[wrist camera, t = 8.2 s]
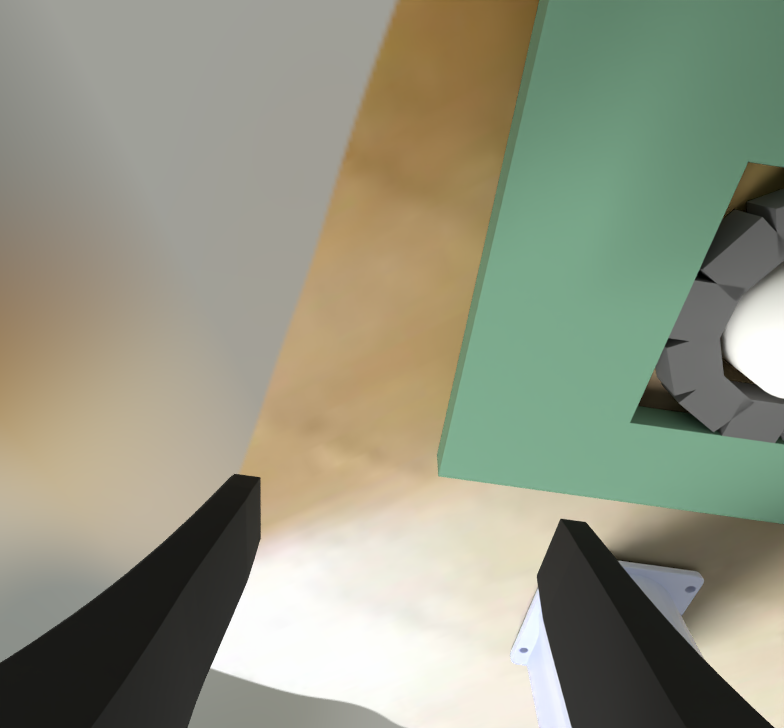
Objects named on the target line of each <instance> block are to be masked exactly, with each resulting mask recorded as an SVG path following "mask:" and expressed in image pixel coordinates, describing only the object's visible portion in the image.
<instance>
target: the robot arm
mask: <svg viewBox="0 0 784 728" xmlns="http://www.w3.org/2000/svg"><path fill="white" fill-rule="evenodd" d="M260 539H261V508H260V477H254V476H246V475H239V474H234V475H233V476H231V477H230V478H229V479H228V480H227V481H226V482H225V483H224V484H223V485H222V486H221V487H220V488H219V489H218V490H217V491H216V493H214V494H213V495H212V496H211V497H210V498H209V499H208V500H207V501H206V502H205V503H204V504H203V505H202V506H201V507H200V508H199V509H198V510H197V511H196V512H195V513H194V514H193V515H192V516H191V517H190V518H189V519H188V520H187V521H186V522H185V523H184V524H182V525H181V526H180V527H179V528H178V529H177V530H176V531H175V532H174V533H173V534H172V535H171V536H169V537H168V538H167V539H166V540H165V541H164V542H163V543H162V544H161V545H160V546H158V547H157V548H156V549H155V550H154V551H152V552H151V553H150V554H149V555H148V556H147V557H145V558H144V559H143V560H142V561H141V562H139V563H138V564H137V565H136V566H135V567H134V568H132V569H131V570H130V571H129V572H128V573H127V574H125V575H124V576H123V577H121V578H120V579H119V580H118V581H116V582H115V583H114V584H113V585H111V586H110V587H109V588H108V589H106V590H105V591H104V592H102V593H101V594H100V595H98V596H97V597H96V598H94V599H93V600H92V601H90V602H89V603H88V604H86V605H85V606H84V607H82V608H81V609H79V610H78V611H77V612H75V613H74V614H73V615H71V616H70V617H68V618H67V619H66V620H64V621H63V622H61V623H60V624H58V625H57V626H55V627H54V628H52V629H51V630H49V631H48V632H47V633H45V634H44V635H42V636H41V637H39V638H38V639H37V640H35V641H33V642H32V643H30V644H29V645H27V646H26V647H24V648H23V649H21V650H20V651H18V652H16V653H15V654H13V655H12V656H10V657H9V658H7V659H5V660H4V661H2V662H1V663H0V728H187V727H188V724H189V721H190V719H191V716H192V712H193V709H194V707H195V704H196V701H197V699H198V696H199V694H200V691H201V688H202V686H203V683H204V681H205V678H206V676H207V674H208V672H209V669H210V667H211V665H212V662H213V660H214V658H215V655H216V653H217V651H218V648H219V646H220V644H221V641H222V639H223V637H224V635H225V632H226V630H227V628H228V625H229V623H230V621H231V618H232V616H233V614H234V611H235V609H236V607H237V604H238V602H239V600H240V597H241V595H242V593H243V590H244V588H245V586H246V583H247V581H248V578H249V574H250V571H251V568H252V565H253V562H254V559H255V555H256V552H257V549H258V545H259V542H260ZM537 582H538V589H537V592H536V594H535V596H534V599H533V601H532V603H531V606H530V608H529V610H528V613H527V615H526V617H525V620H524V622H523V624H522V627H521V629H520V631H519V634H518V636H517V639H516V641H515V643H514V646H513V648H512V650H511V653H510V658H511V661H512V662H513V663H515V664H518V665H526V666H527V668H528V673H529V678H530V683H531V688H532V693H533V698H534V704H535V709H536V714H537V719H538V724H539V728H774V727H773V726H772V725H771V724H770V723H769V722H768V721H767V720H766V719H765V718H763V717H762V716H761V715H760V714H759V713H758V712H757V711H756V710H755V709H754V708H753V707H752V706H751V705H750V704H749V703H748V702H747V701H745V700H744V699H743V698H742V697H741V696H740V695H739V694H738V693H737V692H736V691H735V690H734V689H733V688H732V687H731V686H730V685H729V684H728V683H727V682H726V681H725V680H724V679H723V678H722V677H721V676H720V675H719V674H718V673H717V672H716V671H715V670H714V669H713V668H712V667H711V666H710V665H709V664H708V663H707V662H706V661H705V660H704V658H703V656H702V654H701V652H700V650H699V648H698V646H697V645H696V643H695V641H694V639H693V637H692V635H691V633H690V631H689V630H688V628H687V626H686V624H685V622H684V620H683V618H682V614H683V613H684V612H685V610H686V609H687V607H688V606H689V604H690V603H691V601H692V600H693V598H694V597H695V595H696V594H697V592H698V591H699V589H700V588H701V586H702V585H703V583H704V579H703V577H702V576H701V574H700V573H699V572H696V571H691V570H684V569H676V568H669V567H662V566H654V565H647V564H640V563H632V562H625V561H618V560H617V559H616V558H615V557H614V556H613V555H612V553H611V552H610V551H609V550H608V548H607V547H606V546H605V545H604V543H603V542H602V541H601V540H600V539H599V537H598V536H597V535H596V534H595V532H594V531H593V530H592V529H591V528H590V527H589V525H588V524H587V523H586V522H581V521H573V520H566V519H560V521H559V524H558V526H557V529H556V531H555V533H554V536H553V538H552V541H551V543H550V545H549V548H548V550H547V553H546V555H545V557H544V560H543V562H542V565H541V567H540V569H539V572H538V574H537Z"/></svg>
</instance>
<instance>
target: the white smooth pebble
mask: <svg viewBox="0 0 784 728" xmlns="http://www.w3.org/2000/svg"><path fill="white" fill-rule="evenodd" d="M720 344H721V354H722V357H723V358H724V359H725V360H726V361H728V362H729V363H730V364H731V365H733V366H734V367H735V368H736V369H738V370H739V371H740V372H742V373H743V374H744V375H745V376H747V377H748V378H749V379H750V380H752V381H753V382H754V383H755V384H757V385H758V386H759V387H760V388H762V389H763V390H764V391H765V392H767V393H769V394H771V395H773V396H776V397H779V398H783V399H784V261H783V262H782V263H781V264H779V265H778V266H777V267H776V268H774V269H773V270H772V271H771V272H770V273H768V274H767V275H766V276H765V277H764V278H762V279H761V280H760V281H759V282H757V283H756V284H755V285H754V286H753V287H751V288H750V289H749V290H748V291H747V292H745V293H744V294H743V295H742V296H741V298H740V300H739V302H738V304H737V306H736V308H735V310H734V312H733V314H732V316H731V318H730V320H729V322H728V323H727V325H726V327H725V329H724V331H723V333H722V335H721V337H720Z"/></svg>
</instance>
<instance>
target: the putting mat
mask: <svg viewBox="0 0 784 728" xmlns="http://www.w3.org/2000/svg"><path fill="white" fill-rule="evenodd" d="M748 162H751V163H757V164H764V165H771V166H777V167H784V0H539V4H538V8H537V13H536V17H535V22H534V26H533V31H532V35H531V40H530V44H529V49H528V53H527V57H526V62H525V66H524V71H523V75H522V80H521V84H520V89H519V93H518V97H517V102H516V106H515V111H514V115H513V120H512V124H511V129H510V133H509V137H508V142H507V146H506V151H505V155H504V160H503V164H502V169H501V173H500V178H499V182H498V186H497V191H496V195H495V200H494V204H493V209H492V213H491V218H490V222H489V226H488V231H487V235H486V240H485V244H484V249H483V253H482V258H481V262H480V266H479V271H478V275H477V280H476V284H475V289H474V293H473V298H472V302H471V306H470V311H469V315H468V320H467V324H466V329H465V333H464V338H463V342H462V347H461V351H460V355H459V360H458V364H457V369H456V373H455V378H454V382H453V387H452V391H451V395H450V400H449V404H448V409H447V413H446V418H445V422H444V427H443V431H442V435H441V440H440V444H439V449H438V453H437V461H438V476H440V477H448V478H455V479H462V480H469V481H477V482H484V483H491V484H498V485H505V486H513V487H520V488H527V489H534V490H542V491H549V492H556V493H563V494H570V495H578V496H585V497H592V498H599V499H607V500H614V501H621V502H628V503H635V504H643V505H650V506H657V507H664V508H672V509H679V510H686V511H693V512H700V513H708V514H715V515H722V516H729V517H737V518H744V519H751V520H758V521H765V522H773V523H780V524H784V399H783V398H779V397H776V396H773V395H771V394H769V393H767V392H765V391H764V390H763V389H762V388H760V387H759V386H758V385H756V384H749V383H742V382H735V381H729V380H728V379H727V378H726V377H725V376H724V372H723V363H722V354H721V344H720V337H721V335H722V333H723V331H724V329H725V327H726V325H727V323H728V322H729V320H730V318H731V316H732V314H733V312H734V310H735V308H736V306H737V304H738V302H739V300H740V298H741V296H742V295H743V294H744V293H745V292H747V291H748V290H749V289H750V288H751V287H753V286H754V285H755V284H756V283H757V282H759V281H760V280H761V279H762V278H764V277H765V276H766V275H767V274H768V273H770V272H771V271H772V270H773V269H774V268H776V267H777V266H778V265H779V264H781V263H782V262H783V261H784V189H781V190H778V191H775V192H773V193H770V194H767V195H764V196H761V197H759V198H756V199H753V200H750V201H748V202H746V203H747V213H746V212H742V211H739V210H735V209H734V210H733V211H732V212H731V213H730V214H729V215H727V216H726V217H725V218H724V219H723V216H724V214H725V212H726V210H727V208H728V205H729V203H730V201H731V199H732V196H733V194H734V192H735V190H736V188H737V185H738V183H739V181H740V179H741V177H742V174H743V172H744V170H745V168H746V166H747V163H748ZM722 219H723V220H722ZM654 369H656V374H657V378H658V379H659V380H660V381H661V382H662V386H663V387H664V388H665V389H666V390H667V391H668V392H669V393H670V394H671V395H672V396H673V397H674V398H675V400H676V401H677V402H678V403H679V404H680V405H682V406H683V407H684V408H685V409H686V410H688V411H689V412H690V413H691V414H690V413H683V412H676V411H669V410H662V409H655V408H648V407H641V406H638V404H639V402H640V399H641V397H642V395H643V393H644V391H645V388H646V386H647V384H648V382H649V380H650V377H651V375H652V373H653V371H654Z"/></svg>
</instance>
